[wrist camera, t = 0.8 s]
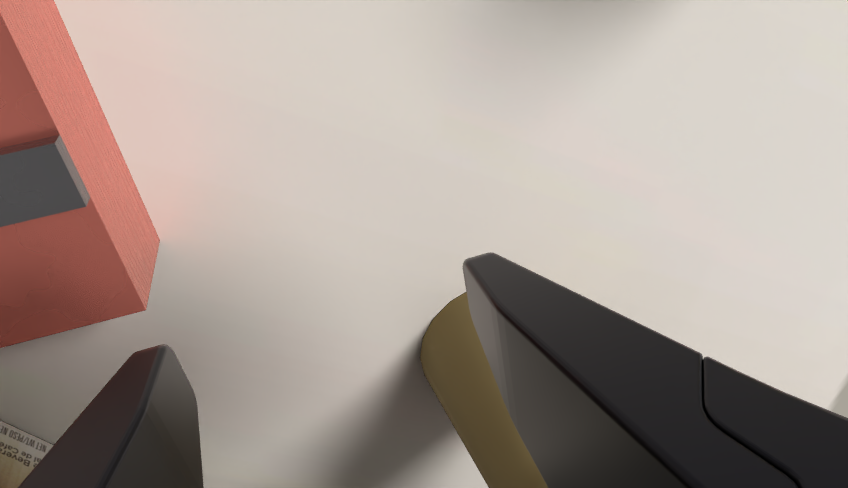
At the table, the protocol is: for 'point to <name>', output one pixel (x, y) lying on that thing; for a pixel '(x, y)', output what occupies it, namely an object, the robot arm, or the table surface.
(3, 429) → the coffee box
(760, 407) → the robot arm
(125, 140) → the table surface
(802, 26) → the table surface
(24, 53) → the block
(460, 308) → the olive tapered upright piece
